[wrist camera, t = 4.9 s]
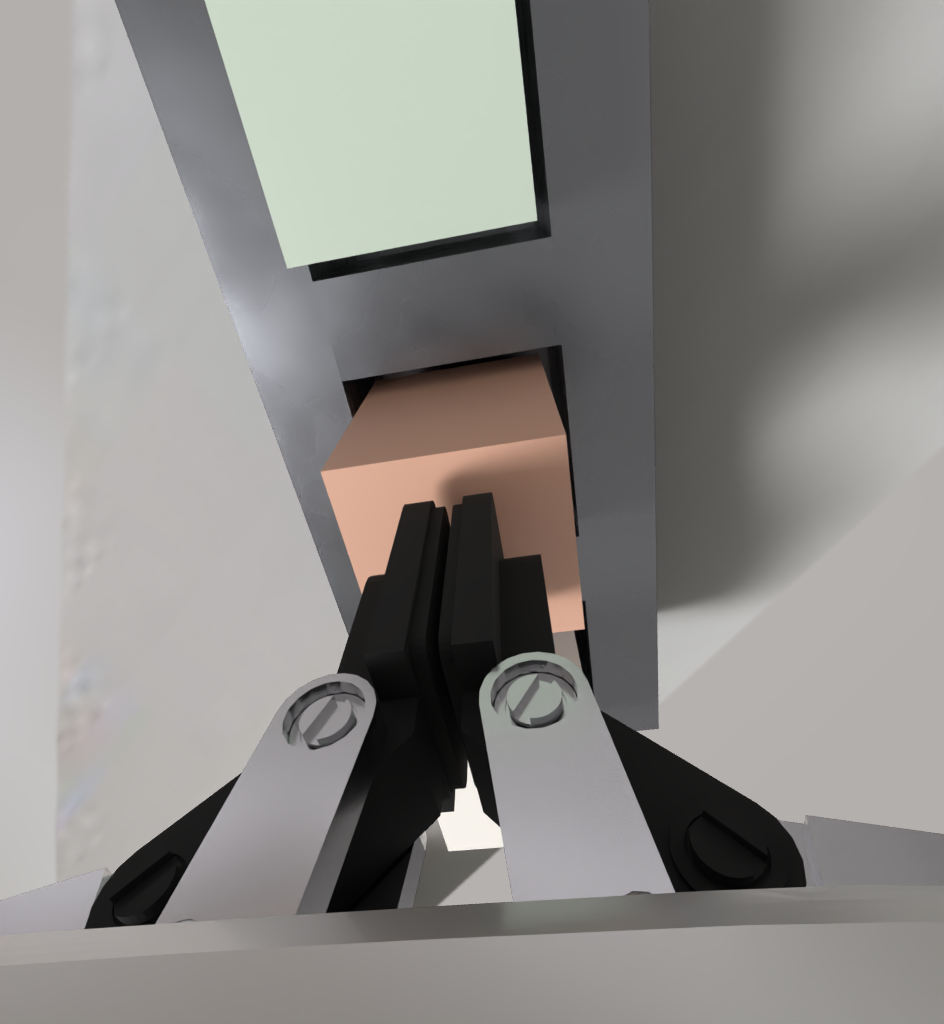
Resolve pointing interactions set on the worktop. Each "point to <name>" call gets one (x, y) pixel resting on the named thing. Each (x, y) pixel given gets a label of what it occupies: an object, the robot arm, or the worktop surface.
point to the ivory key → (468, 818)
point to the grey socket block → (463, 299)
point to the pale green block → (380, 119)
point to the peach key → (462, 467)
